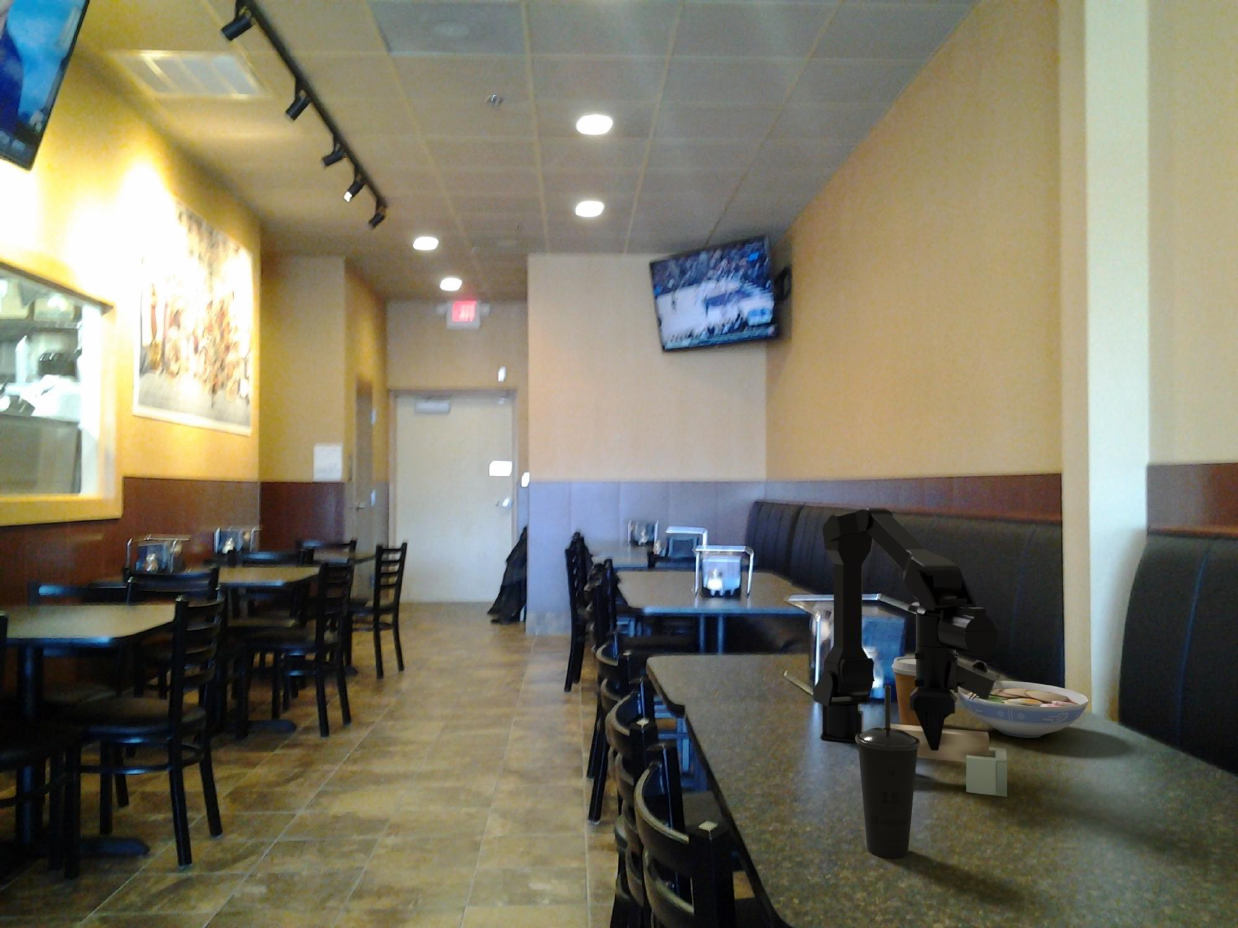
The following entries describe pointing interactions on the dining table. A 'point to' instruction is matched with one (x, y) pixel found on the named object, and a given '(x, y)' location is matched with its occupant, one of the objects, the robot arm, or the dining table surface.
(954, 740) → the slat
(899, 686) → the disposable coffee cup
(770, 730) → the dining table surface
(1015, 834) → the dining table surface
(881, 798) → the drinking cup
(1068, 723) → the ramen bowl
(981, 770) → the right end cap
